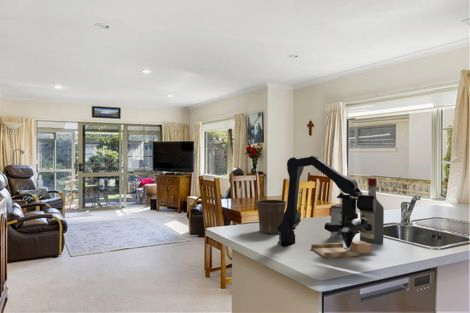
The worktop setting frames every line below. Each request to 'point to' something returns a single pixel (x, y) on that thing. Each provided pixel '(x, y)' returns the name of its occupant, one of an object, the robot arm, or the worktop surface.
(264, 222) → the plant pot
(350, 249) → the tailgate
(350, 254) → the square wooden tray
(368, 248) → the block
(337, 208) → the coffee box
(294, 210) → the robot arm
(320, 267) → the worktop surface
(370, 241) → the liquor
